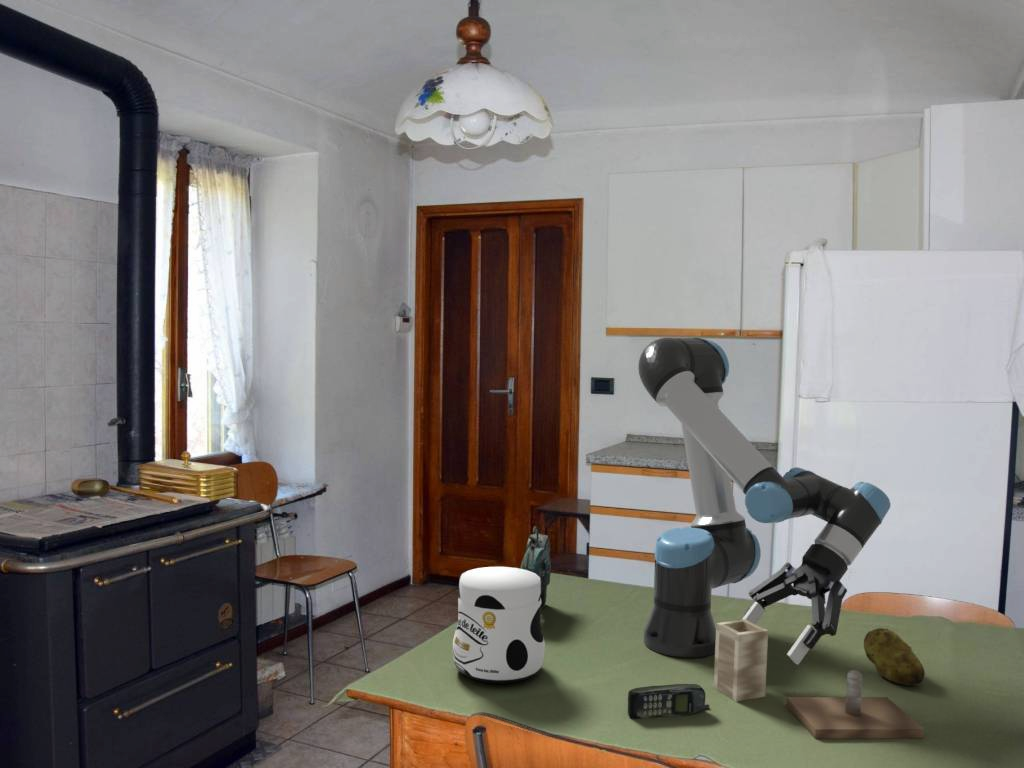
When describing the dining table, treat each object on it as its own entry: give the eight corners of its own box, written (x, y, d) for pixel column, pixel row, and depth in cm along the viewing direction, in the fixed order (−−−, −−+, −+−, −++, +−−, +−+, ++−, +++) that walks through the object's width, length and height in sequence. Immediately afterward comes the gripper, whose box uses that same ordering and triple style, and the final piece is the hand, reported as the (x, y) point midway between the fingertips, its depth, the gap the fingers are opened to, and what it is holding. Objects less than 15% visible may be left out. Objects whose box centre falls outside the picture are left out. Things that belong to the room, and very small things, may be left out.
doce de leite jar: (436, 681, 155) (438, 584, 154) (473, 649, 171) (475, 560, 170) (526, 698, 149) (529, 597, 148) (555, 662, 165) (558, 571, 164)
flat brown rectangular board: (815, 738, 136) (817, 685, 136) (786, 705, 148) (788, 656, 148) (923, 738, 137) (926, 685, 137) (886, 705, 149) (889, 657, 149)
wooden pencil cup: (736, 701, 149) (739, 634, 149) (713, 687, 155) (716, 623, 154) (765, 696, 152) (768, 630, 151) (741, 682, 158) (744, 619, 157)
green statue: (527, 600, 203) (530, 517, 201) (554, 603, 201) (557, 519, 200) (511, 628, 183) (513, 537, 182) (540, 631, 182) (543, 539, 181)
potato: (882, 689, 156) (884, 646, 156) (856, 662, 169) (859, 622, 169) (928, 691, 156) (931, 648, 156) (899, 664, 169) (901, 624, 168)
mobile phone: (631, 693, 141) (714, 685, 144) (625, 686, 144) (707, 678, 147) (631, 723, 141) (714, 713, 145) (624, 715, 144) (706, 706, 147)
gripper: (896, 586, 148) (828, 684, 143) (793, 551, 171) (731, 635, 165) (874, 559, 145) (805, 658, 140) (773, 527, 168) (710, 612, 163)
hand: (765, 646), depth 153 cm, fingers open, 13 cm apart
